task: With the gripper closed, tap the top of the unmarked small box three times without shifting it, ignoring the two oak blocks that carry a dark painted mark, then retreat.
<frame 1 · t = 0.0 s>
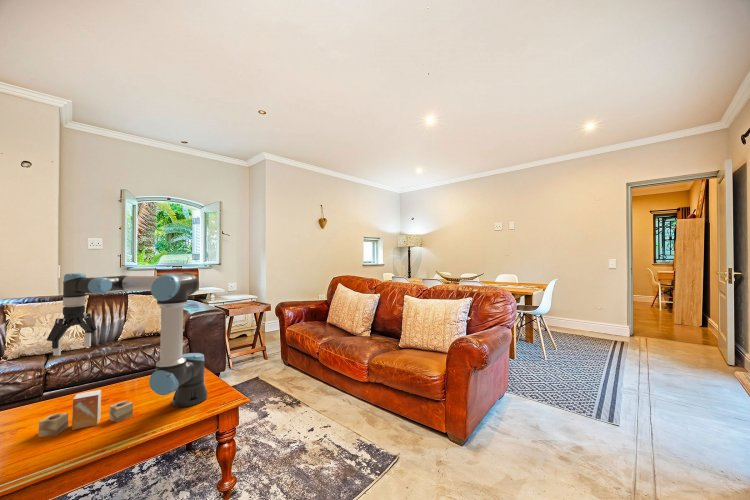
hand: (72, 350, 143), 28 cm above the table, fingers open, 13 cm apart
marked block b: (121, 418, 136), on the table
marked block a: (53, 432, 125), on the table
small box: (86, 424, 130), on the table
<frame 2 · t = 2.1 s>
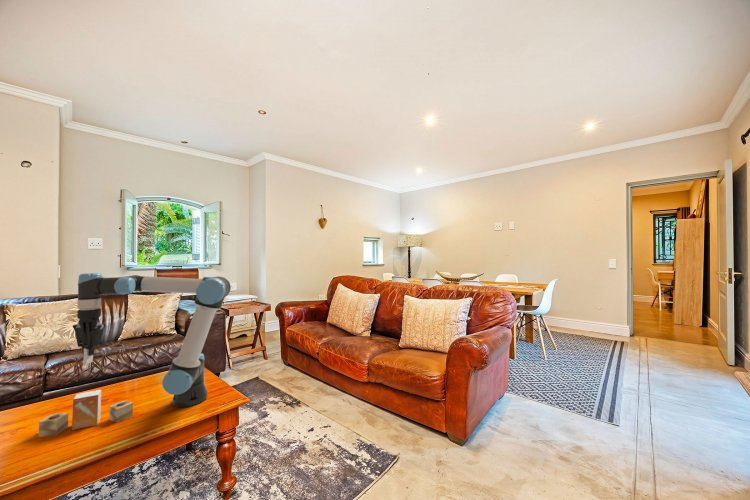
hand: (88, 362, 131), 26 cm above the table, fingers closed
nothing on the table moved.
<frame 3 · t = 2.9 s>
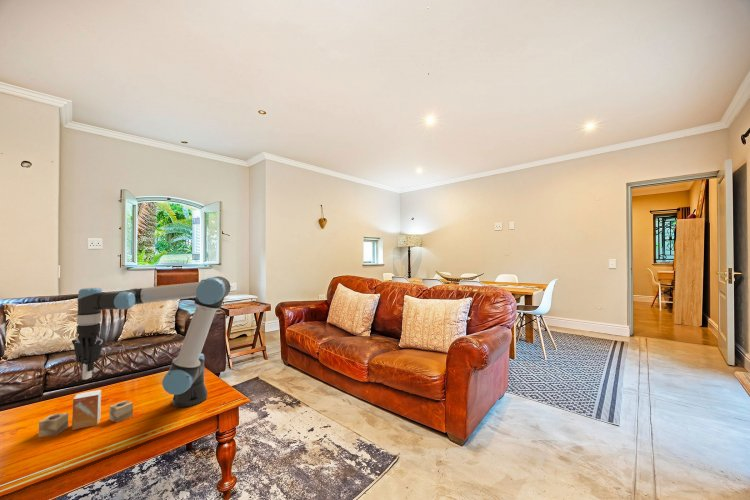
hand: (87, 378, 131), 20 cm above the table, fingers closed
nothing on the table moved.
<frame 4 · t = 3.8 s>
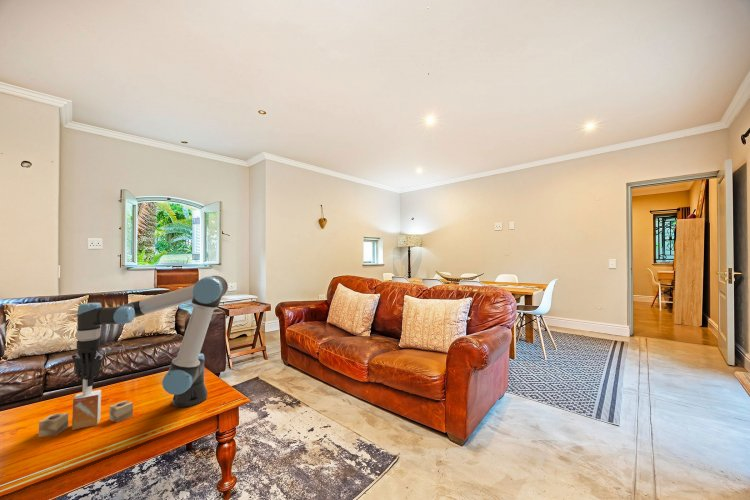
hand: (87, 393, 130), 13 cm above the table, fingers closed
small box: (86, 424, 130), on the table, touching gripper
everything else where it was.
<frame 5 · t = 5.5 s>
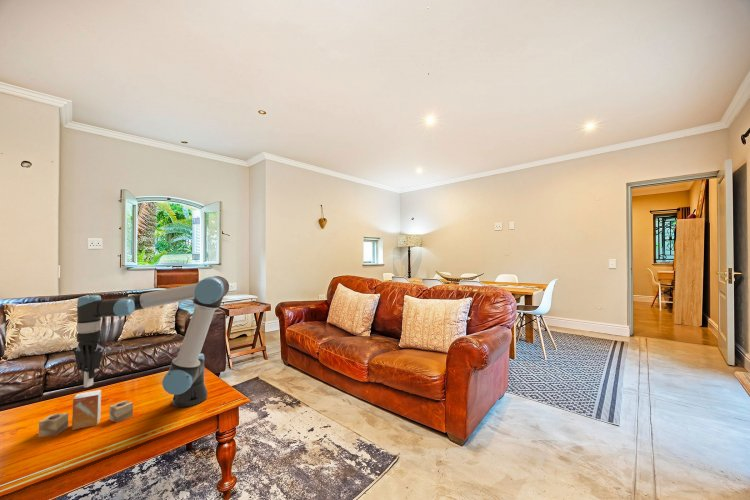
hand: (88, 385, 131), 16 cm above the table, fingers closed
small box: (86, 424, 130), on the table
everything else where it was.
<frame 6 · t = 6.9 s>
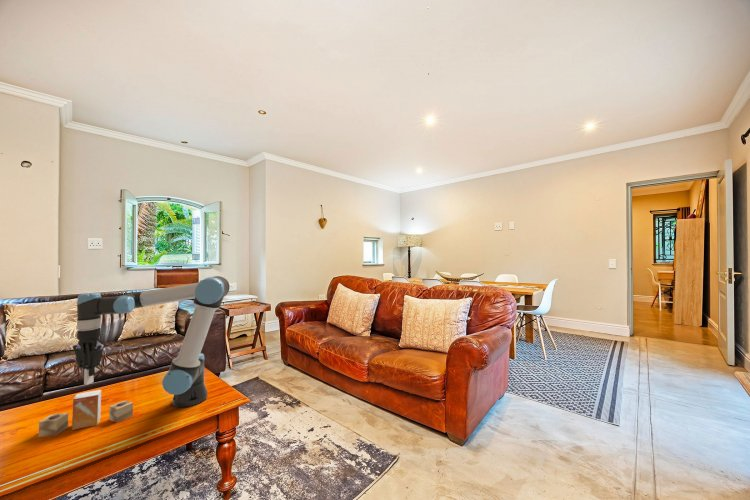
hand: (88, 383, 131), 18 cm above the table, fingers closed
nothing on the table moved.
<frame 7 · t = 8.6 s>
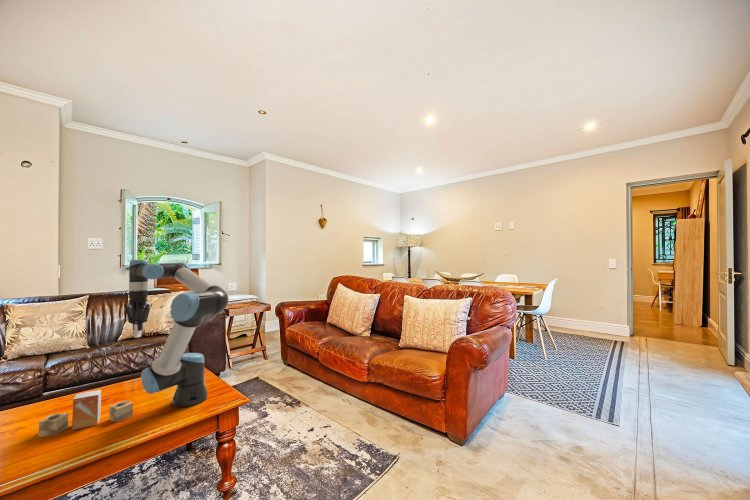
hand: (137, 336, 152), 32 cm above the table, fingers closed
nothing on the table moved.
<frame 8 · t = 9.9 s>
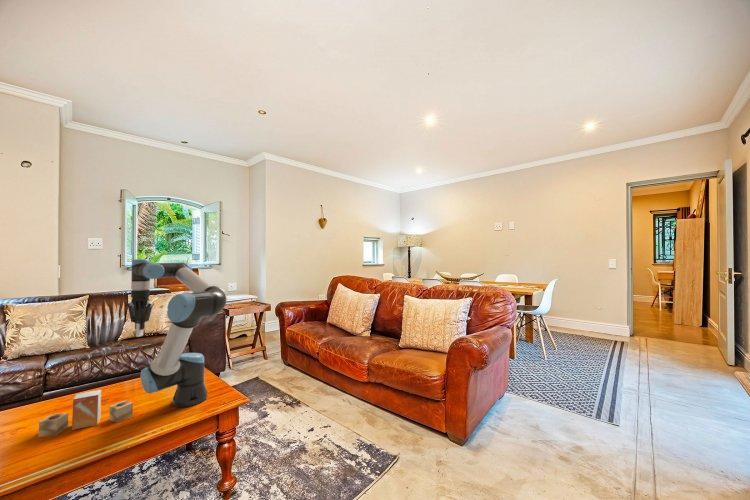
hand: (139, 335, 153), 32 cm above the table, fingers closed
nothing on the table moved.
at the end: small box moved 0.2 cm from its start; small box tilted 0°; small box touching table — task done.
